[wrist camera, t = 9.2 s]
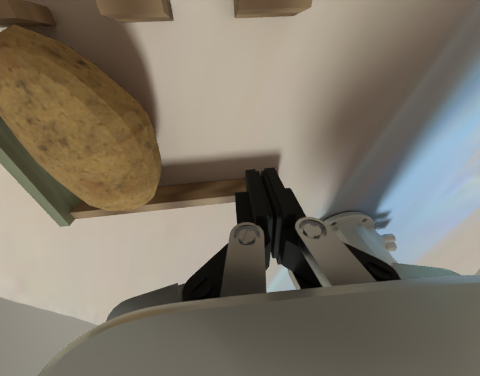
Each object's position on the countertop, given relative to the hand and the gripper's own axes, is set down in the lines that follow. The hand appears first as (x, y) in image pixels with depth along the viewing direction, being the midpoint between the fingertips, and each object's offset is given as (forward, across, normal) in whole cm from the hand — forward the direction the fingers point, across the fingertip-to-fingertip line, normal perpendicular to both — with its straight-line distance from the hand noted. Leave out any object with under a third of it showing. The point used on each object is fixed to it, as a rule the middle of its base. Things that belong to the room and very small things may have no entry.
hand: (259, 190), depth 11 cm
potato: (+12, +13, -2) cm, 18 cm away
